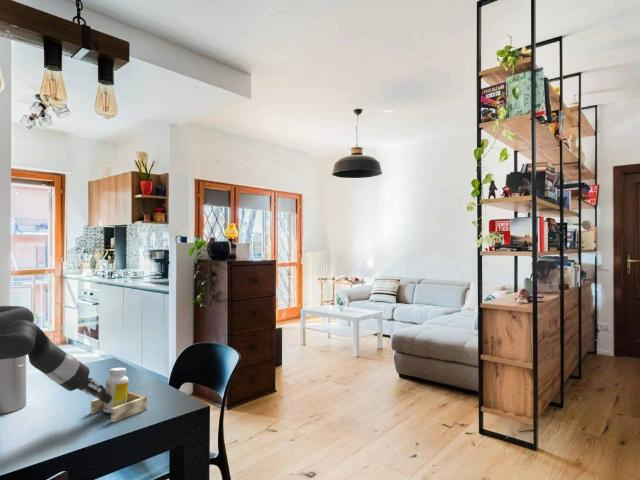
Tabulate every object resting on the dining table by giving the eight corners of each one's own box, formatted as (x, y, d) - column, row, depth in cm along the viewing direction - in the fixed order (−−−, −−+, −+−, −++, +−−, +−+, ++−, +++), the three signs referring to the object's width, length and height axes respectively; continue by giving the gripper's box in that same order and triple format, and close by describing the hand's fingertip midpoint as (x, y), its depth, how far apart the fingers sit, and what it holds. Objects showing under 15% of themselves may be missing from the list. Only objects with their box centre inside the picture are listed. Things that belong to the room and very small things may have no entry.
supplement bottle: (129, 407, 132) (133, 367, 133) (119, 414, 125) (123, 371, 127) (109, 407, 132) (113, 366, 134) (98, 413, 125) (102, 370, 127)
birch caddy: (113, 422, 121) (113, 409, 121) (90, 413, 128) (90, 400, 128) (146, 409, 130) (146, 397, 130) (124, 401, 137) (124, 389, 137)
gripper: (45, 379, 117) (89, 407, 127) (68, 387, 110) (112, 416, 120) (65, 356, 121) (106, 385, 131) (88, 363, 114) (129, 393, 124)
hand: (109, 400), depth 125 cm, fingers closed
